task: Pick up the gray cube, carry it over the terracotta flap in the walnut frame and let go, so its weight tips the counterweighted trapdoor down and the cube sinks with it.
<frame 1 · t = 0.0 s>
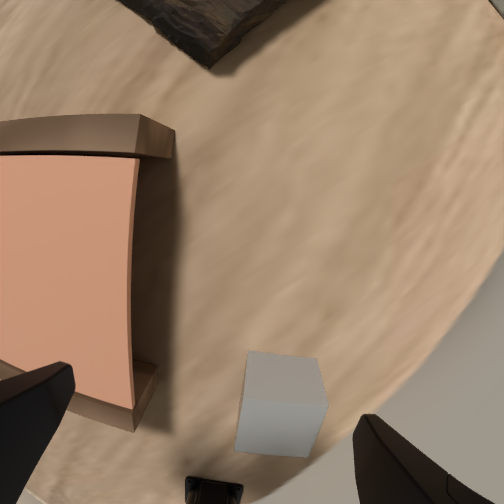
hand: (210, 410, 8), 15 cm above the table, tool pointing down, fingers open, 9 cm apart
gray cube: (276, 381, 25), on the table
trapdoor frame: (71, 256, 23), on the table
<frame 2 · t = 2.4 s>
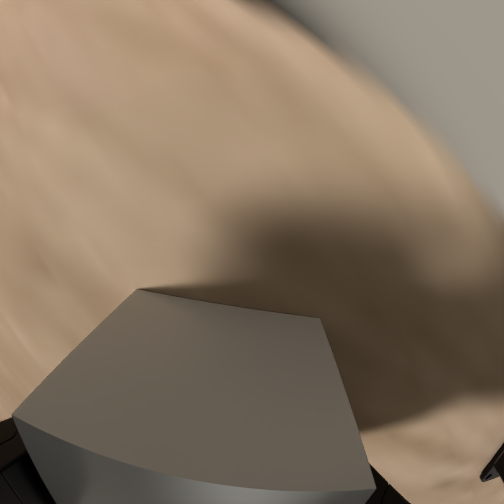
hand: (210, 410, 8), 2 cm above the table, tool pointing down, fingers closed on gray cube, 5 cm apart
gray cube: (217, 380, 10), on the table, touching gripper
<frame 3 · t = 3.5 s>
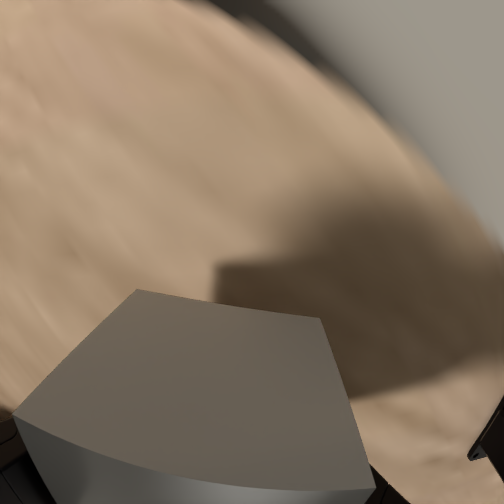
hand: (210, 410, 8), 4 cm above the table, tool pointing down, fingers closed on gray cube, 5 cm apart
gray cube: (217, 380, 10), point 2 cm above the table, touching gripper
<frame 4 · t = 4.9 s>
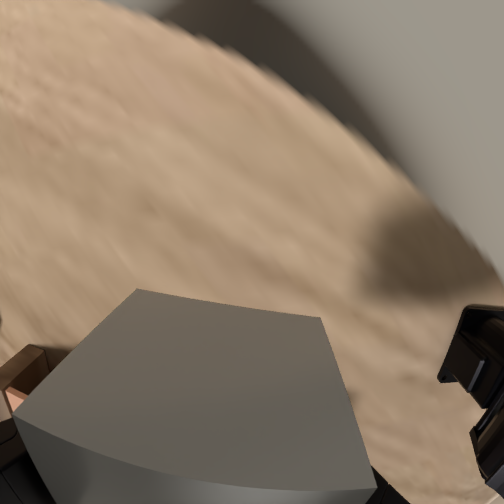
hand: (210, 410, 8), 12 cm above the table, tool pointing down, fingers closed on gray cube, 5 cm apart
gray cube: (217, 380, 10), point 10 cm above the table, touching gripper
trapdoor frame: (136, 442, 23), on the table
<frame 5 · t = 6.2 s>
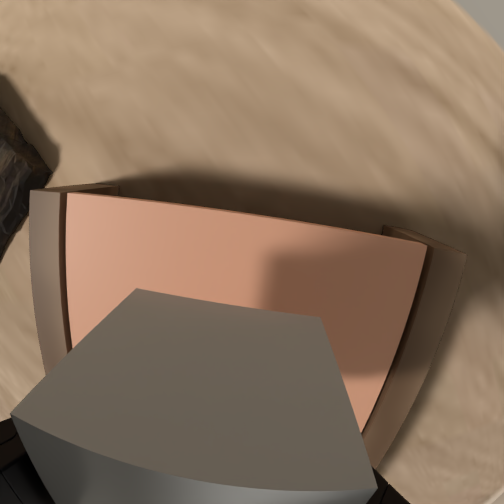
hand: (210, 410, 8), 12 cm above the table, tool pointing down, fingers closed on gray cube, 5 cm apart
trapdoor: (216, 422, 15), point 6 cm above the table, hinge at 0.0°
gray cube: (217, 379, 10), point 10 cm above the table, touching gripper
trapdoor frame: (232, 326, 20), on the table
when the fingers open (10 cm above the table, at t = 7.0 s): gray cube drops 6 cm, resting on trapdoor.
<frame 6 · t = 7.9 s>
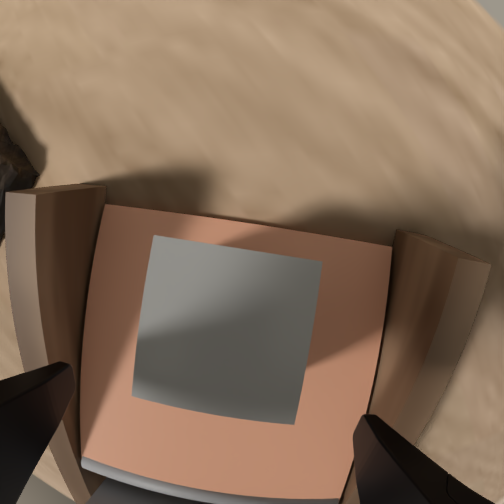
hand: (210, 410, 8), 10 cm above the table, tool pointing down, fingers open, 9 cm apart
trapdoor: (216, 426, 15), point 4 cm above the table, hinge at -21.0°, touching gray cube
gray cube: (231, 319, 16), point 2 cm above the table, tilted 21°, touching trapdoor
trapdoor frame: (230, 339, 18), on the table
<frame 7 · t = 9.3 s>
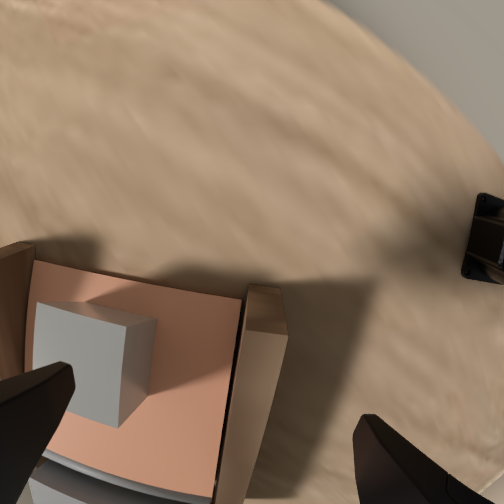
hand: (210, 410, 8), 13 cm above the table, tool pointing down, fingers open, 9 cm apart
trapdoor: (111, 425, 19), point 4 cm above the table, hinge at -21.0°, touching gray cube
gray cube: (114, 349, 19), point 2 cm above the table, tilted 21°, touching trapdoor
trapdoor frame: (126, 361, 22), on the table
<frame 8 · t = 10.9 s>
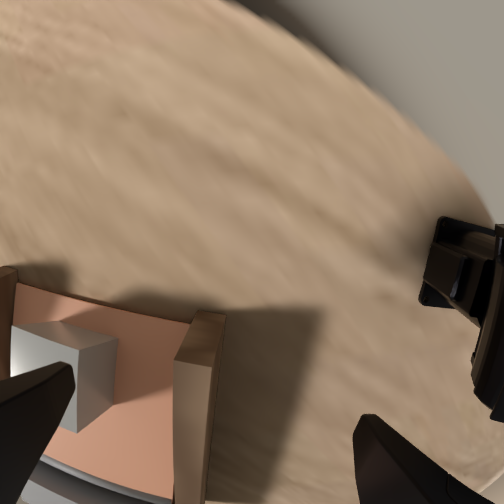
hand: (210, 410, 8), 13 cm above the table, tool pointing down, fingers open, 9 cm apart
trapdoor: (84, 430, 20), point 4 cm above the table, hinge at -20.9°, touching gray cube
gray cube: (84, 363, 21), point 2 cm above the table, tilted 21°, touching trapdoor
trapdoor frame: (99, 374, 24), on the table
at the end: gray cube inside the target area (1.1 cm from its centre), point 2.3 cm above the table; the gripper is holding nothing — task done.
